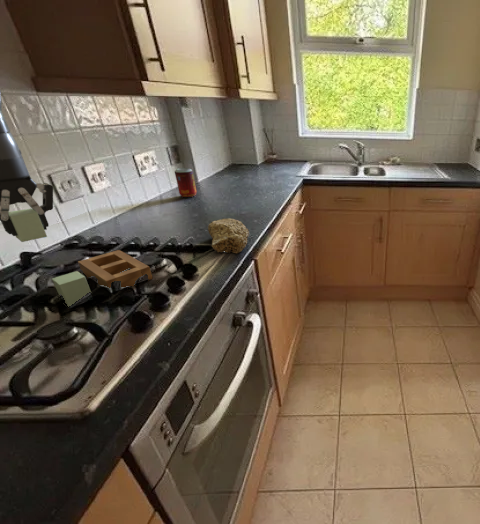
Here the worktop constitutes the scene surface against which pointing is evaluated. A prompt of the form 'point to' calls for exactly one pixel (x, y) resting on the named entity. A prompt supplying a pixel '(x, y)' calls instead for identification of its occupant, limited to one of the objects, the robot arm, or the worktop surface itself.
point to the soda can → (185, 182)
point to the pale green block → (71, 287)
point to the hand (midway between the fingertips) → (29, 231)
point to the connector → (114, 268)
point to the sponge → (228, 235)
